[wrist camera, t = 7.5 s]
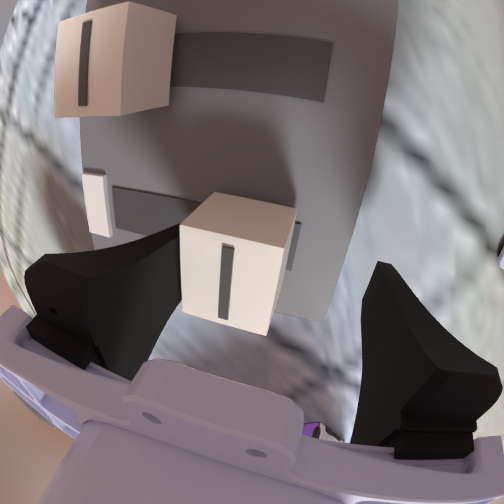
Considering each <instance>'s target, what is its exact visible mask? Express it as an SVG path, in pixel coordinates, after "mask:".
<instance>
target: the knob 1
mask: <svg viewBox="0 0 504 504" xmlns="http://www.w3.org/2000/svg"><path fill="white" fill-rule="evenodd" d="M176 18H177V15H175V14H172V13H168V12H165V11H162V10H159V9H155V8H152V7H149V6H145V5H141V4H137V3H134V2H130V1H128V2H124V3H120V4H116V5H112V6H108V7H104V8H101V9H97V10H94V11H90V12H87V13H84V14H81V15H78V16H75V17H72V18H69V19H66V20H64V21H61V22H59V25H58V34H57V44H56V58H55V83H54V105H55V118H63V117H84V116H122V115H126V114H131V113H135V112H139V111H144V110H149V109H153V108H158V107H163V106H169V92H170V78H171V65H172V54H173V44H174V35H175V26H176Z"/></svg>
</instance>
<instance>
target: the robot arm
mask: <svg viewBox="0 0 504 504" xmlns="http://www.w3.org/2000/svg"><path fill="white" fill-rule="evenodd" d="M181 223H182V222H181ZM181 223H179V224H176V225H174V226H171V227H169V228H167V229H164V230H162V231H159V232H157V233H154V234H151V235H149V236H146V237H143V238H141V239H138V240H135V241H132V242H128V243H125V244H121V245H117V246H113V247H108V248H103V249H98V250H93V251H86V252H77V253H61V254H45V255H43V256H42V257H41V258H40V259H38V260H37V261H36V262H35V263H33V264H32V265H31V266H30V267H29V268H28V269H27V270H26V271H25V275H24V279H25V285H26V289H27V292H28V294H29V296H30V299H31V301H32V304H33V306H34V308H35V311H36V313H37V315H36V316H35V317H34V318H33V319H32V318H31V317H30V315H28V314H27V313H26V312H24V311H23V310H21V309H20V308H18V307H17V306H15V305H12V306H11V307H10V308H9V309H8V310H7V311H6V312H4V313H3V314H2V315H1V316H0V378H1V379H2V380H3V381H4V382H5V383H6V384H7V385H8V386H9V387H10V388H11V389H12V390H14V391H15V392H16V393H17V394H18V395H19V396H20V397H22V398H23V399H24V400H25V401H26V402H27V403H29V404H30V405H31V406H32V407H33V408H34V409H36V410H37V411H38V412H39V413H40V414H42V415H43V416H44V417H45V418H47V419H48V420H49V421H50V422H52V423H53V424H54V425H56V426H57V427H58V428H60V429H61V430H62V431H64V432H65V433H66V434H68V435H69V436H70V437H72V438H73V439H75V441H74V443H73V444H72V446H71V448H70V449H69V451H68V452H67V454H66V456H65V457H64V459H63V461H62V462H61V464H60V465H59V467H58V469H57V471H56V472H55V474H54V476H53V477H52V479H51V480H50V482H49V484H48V486H47V487H46V489H45V491H44V492H43V494H42V496H41V498H40V499H39V501H38V503H37V504H488V503H490V502H492V501H494V500H496V499H498V498H500V497H502V496H504V454H503V446H502V440H501V436H488V437H479V438H476V439H474V440H473V433H472V432H475V431H476V430H477V423H476V420H477V419H479V418H480V417H481V416H482V415H483V414H484V413H485V412H486V411H487V410H489V409H490V408H491V407H492V406H493V405H494V404H495V402H496V401H497V400H498V398H499V396H500V395H501V393H502V388H503V387H502V384H501V380H500V376H499V373H498V369H497V367H495V366H494V365H492V364H490V363H489V362H487V361H486V360H484V359H482V358H481V357H479V356H478V355H476V354H475V353H474V352H472V351H471V350H470V349H468V348H467V347H465V346H464V345H463V344H462V343H461V342H459V341H458V340H457V339H456V338H455V337H454V336H452V335H451V334H450V333H449V332H448V331H447V330H446V329H445V328H444V327H443V326H442V325H441V324H440V323H439V322H438V321H437V320H436V319H435V318H434V317H433V316H432V315H431V314H430V313H429V311H428V310H427V309H426V308H425V307H424V305H423V304H422V303H421V302H420V301H419V299H418V298H417V297H416V296H415V294H414V293H413V292H412V290H411V289H410V288H409V286H408V285H407V284H406V282H405V281H404V280H403V278H402V277H401V276H400V274H399V273H398V272H397V270H396V269H395V268H394V267H393V266H392V265H391V264H388V263H384V262H380V261H378V262H377V264H376V267H375V269H374V272H373V275H372V277H371V280H370V282H369V285H368V287H367V289H366V292H365V294H364V297H363V299H362V310H361V336H362V379H361V388H360V395H359V402H358V408H357V414H356V419H355V424H354V428H353V433H352V437H351V441H350V443H342V442H335V441H329V440H323V439H317V438H311V437H308V436H305V435H303V434H302V430H303V425H304V411H303V410H302V409H301V408H300V407H299V406H298V405H297V404H295V403H294V402H293V401H292V400H291V399H290V398H288V397H285V396H283V395H280V394H278V393H275V392H273V391H270V390H266V389H262V388H258V387H255V386H251V385H247V384H244V383H240V382H237V381H233V380H230V379H226V378H223V377H220V376H217V375H213V374H210V373H207V372H204V371H201V370H198V369H195V368H192V367H189V366H186V365H183V364H180V363H178V362H174V361H169V360H164V359H153V360H149V361H148V359H149V356H150V354H151V352H152V350H153V348H154V346H155V344H156V342H157V340H158V338H159V336H160V334H161V332H162V330H163V328H164V326H165V324H166V322H167V321H168V319H169V317H170V316H171V314H172V313H173V311H174V310H175V309H176V307H177V306H178V304H179V303H180V302H181V300H182V290H181V264H180V224H181ZM498 263H499V265H500V267H501V268H502V269H504V247H503V249H502V251H501V253H500V255H499V258H498Z"/></svg>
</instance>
